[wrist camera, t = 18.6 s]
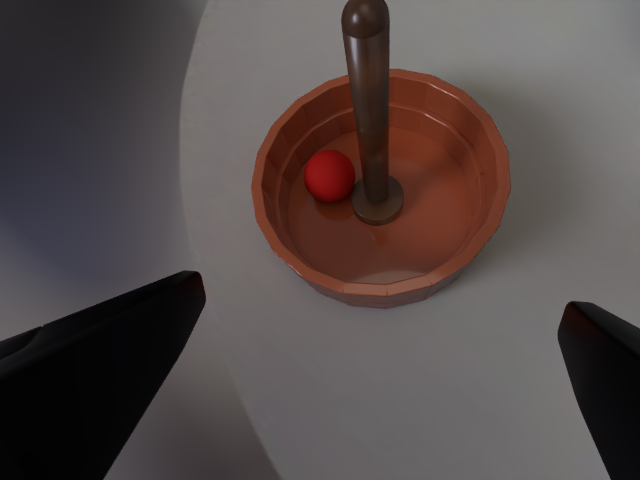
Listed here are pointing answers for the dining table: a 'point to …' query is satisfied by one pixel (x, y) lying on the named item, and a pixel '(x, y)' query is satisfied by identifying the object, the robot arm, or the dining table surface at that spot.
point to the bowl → (408, 169)
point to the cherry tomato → (329, 176)
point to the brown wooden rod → (371, 109)
